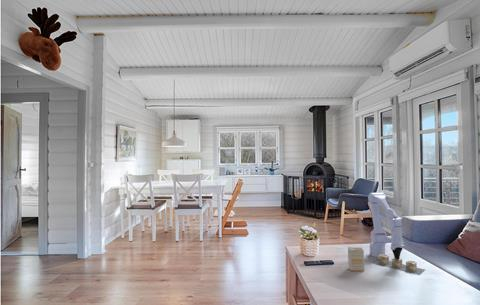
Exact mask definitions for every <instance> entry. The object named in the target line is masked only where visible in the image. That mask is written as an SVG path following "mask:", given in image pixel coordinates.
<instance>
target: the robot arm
mask: <svg viewBox="0 0 480 305" xmlns="http://www.w3.org/2000/svg"><path fill="white" fill-rule="evenodd" d="M386 198H387V197H386V195H385V192H369V194H368V196H367V199H368V205H369V206H370V211H371V217H372V224H373V230H371V231H370V241H371V242H370V243H369V256H371V257H375V258H379V255H381V254H383V255H386V245H387V243H388V241H389V238H388V235H387V232H386V231H385V230H384V229H383V228H382V227H383V226H382V219H381V215H380V214H381V212H380V208H379V207H380V206H381V208H382V209H383V210H384V215H385V216H386V218H387V219H388V225H389V228H390V231H391V237H390V238H391V244H390V250H391V251H392V254H393V258H394V257H395V259H399V258H401V253H402V251H403V248H404V247H405V245H404V244H403V240H402V239H403V235H402V228H403V227H404V220H403V218H401V217H400V216H398V215H397V213H396V212H395V210H394V209H393V208H390V206H389V203H388V201H387V200H386Z"/></svg>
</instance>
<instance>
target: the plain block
mask: <svg viewBox="0 0 480 305" xmlns="http://www.w3.org/2000/svg"><path fill="white" fill-rule="evenodd" d="M391 261H392V266H394V267H398V268H400V267H402V264H403V258H401V257H400V258H399V259H395V257H394V256H393V257H392V258H391Z"/></svg>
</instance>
